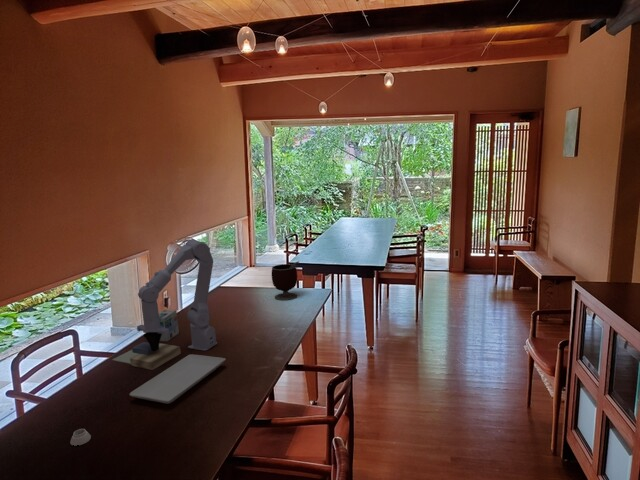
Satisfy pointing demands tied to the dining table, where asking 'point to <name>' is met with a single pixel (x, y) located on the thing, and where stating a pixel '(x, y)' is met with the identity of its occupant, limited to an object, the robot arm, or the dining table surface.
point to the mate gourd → (285, 280)
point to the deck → (155, 357)
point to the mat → (125, 357)
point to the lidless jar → (80, 437)
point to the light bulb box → (169, 323)
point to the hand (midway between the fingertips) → (155, 349)
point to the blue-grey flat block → (143, 349)
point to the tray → (177, 378)
